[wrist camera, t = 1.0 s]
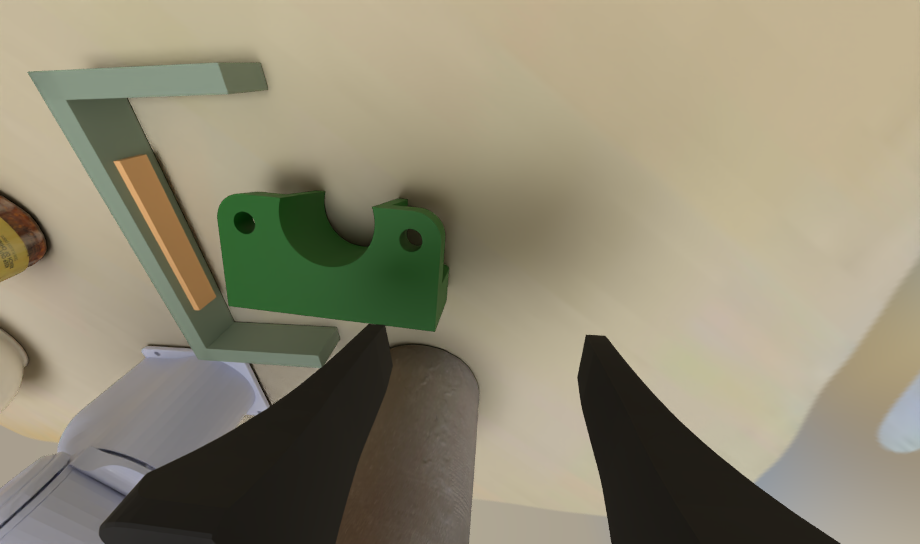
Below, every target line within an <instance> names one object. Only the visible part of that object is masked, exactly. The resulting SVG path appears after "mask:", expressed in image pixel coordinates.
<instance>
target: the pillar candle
mask: <svg viewBox="0 0 920 544" xmlns="http://www.w3.org/2000/svg"><path fill="white" fill-rule="evenodd" d="M390 353H391V358H392V363H393V367H392V371H391V375H390V379H389V383H388V387H387V390H386V393H385V396H384V398H383V401H382V403H381V406H380V409H379V411H378V414H377V416H376V418H375V421H374V423H373V426H372V428H371V431H370V433H369V436H368V438H367V441H366V443H365V446H364V448H363V451H362V453H361V456H360V459H359V462H358V465H357V468H356V471H355V475H354V478H353V482H352V485H351V488H350V492H349V495H348V499H347V502H346V506H345V510H344V513H343V517H342V520H341V524H340V528H339V532H338V536H337V540H336V544H469V535H470V521H471V507H472V506H471V505H472V494H473V480H474V464H475V453H476V437H477V421H478V404H479V389H478V384H477V381H476V379H475V377H474V375H473V373H472V372H471V370H470V369H469V367H468V366H467V365H466V364H465V363H464V362H462V361H461V360H460V359H459V358H457V357H456V356H454V355H452V354H450V353H448V352H446V351H444V350H441V349H438V348H434V347H430V346H425V345H404V346H403V345H402V346H397V347H394V348H390Z"/></svg>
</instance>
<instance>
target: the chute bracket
mask: <svg viewBox="0 0 920 544" xmlns="http://www.w3.org/2000/svg"><path fill="white" fill-rule="evenodd" d="M28 74H29V76H30V77H31V79H32V81H33V82H34V84H35V86H36V87H37V89H38V91H39V92H40V94H41V96H42V97H43V99H44V101H45V103H46V104H47V106H48V108H49V109H50V111H51V113H52V114H53V116H54V118H55V119H56V121H57V123H58V124H59V126H60V128H61V129H62V131H63V133H64V135H65V136H66V138H67V140H68V141H69V143H70V145H71V146H72V148H73V150H74V151H75V153H76V155H77V156H78V158H79V160H80V161H81V163H82V165H83V167H84V168H85V170H86V172H87V173H88V175H89V177H90V178H91V180H92V182H93V183H94V185H95V187H96V188H97V190H98V192H99V193H100V195H101V197H102V199H103V200H104V202H105V204H106V205H107V207H108V209H109V210H110V212H111V214H112V215H113V217H114V219H115V220H116V222H117V224H118V225H119V227H120V229H121V231H122V232H123V234H124V236H125V237H126V239H127V241H128V242H129V244H130V246H131V247H132V249H133V251H134V252H135V254H136V256H137V257H138V259H139V261H140V262H141V264H142V266H143V268H144V269H145V271H146V273H147V274H148V276H149V278H150V279H151V281H152V283H153V284H154V286H155V288H156V289H157V291H158V293H159V294H160V296H161V298H162V300H163V301H164V303H165V305H166V306H167V308H168V310H169V311H170V313H171V315H172V316H173V318H174V320H175V321H176V323H177V325H178V326H179V328H180V330H181V332H182V333H183V335H184V337H185V338H186V340H187V342H188V343H189V345H190V347H191V348H192V350H193V352H194V353H195V355H196V357H197V358H198V360H208V361H223V362H238V363H253V364H268V365H283V366H297V367H312V368H321V367H323V366H324V364H325V363H326V361H327V360H328V358H329V356H330V355H331V353H332V351H333V350H334V348H335V346H336V345H337V343H338V341H339V340H340V338H339V334H338V331H337V327H322V326H303V325H284V324H264V323H245V322H234V320H233V318H232V316H231V314H230V312H229V310H228V307H227V305H226V303H225V301H224V299H223V297H222V295H221V293H220V291H219V289H218V287H217V285H216V283H215V280H214V278H213V276H212V274H211V272H210V270H209V268H208V266H207V264H206V262H205V260H204V258H203V255H202V253H201V251H200V249H199V247H198V245H197V243H196V241H195V239H194V237H193V235H192V233H191V231H190V228H189V226H188V224H187V222H186V220H185V218H184V216H183V214H182V212H181V210H180V208H179V206H178V204H177V201H176V199H175V197H174V195H173V193H172V191H171V189H170V187H169V185H168V183H167V181H166V179H165V176H164V174H163V172H162V170H161V168H160V166H159V164H158V162H157V160H156V158H155V156H154V154H153V152H152V149H151V147H150V145H149V143H148V141H147V139H146V137H145V135H144V133H143V131H142V129H141V127H140V124H139V122H138V120H137V118H136V116H135V114H134V112H133V110H132V108H131V106H130V104H129V102H128V100H127V98H133V97H161V96H189V95H217V94H234V93H243V92H252V91H261V90H268V87H267V84H266V80H265V77H264V73H263V70H262V67H261V63H200V64H179V65H158V66H137V67H116V68H95V69H75V70H54V71H33V72H28Z"/></svg>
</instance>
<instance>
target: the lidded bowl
mask: <svg viewBox="0 0 920 544" xmlns="http://www.w3.org/2000/svg"><path fill="white" fill-rule="evenodd" d="M27 364H28V356H27V354H26V352H25V350H24V349H23V347H22V346H21V345H20V344H19V343H18V342H17V341H16V340H15V339H14V338H13V337H12V336H10V335H9V334H8V333H7V332H5V331H4V330H2V329H1V328H0V413H1V412H2V411H3V410H4V409H5V408H6V407H7V406H8V405H9V404H10V402H11V401H12V400H13V399H14V397H15V396H16V394H17V392H18V390H19V388H20V385H21V382H22V378H23V368H24V367H25V366H26V365H27Z"/></svg>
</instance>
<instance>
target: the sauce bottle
mask: <svg viewBox="0 0 920 544" xmlns="http://www.w3.org/2000/svg"><path fill="white" fill-rule="evenodd" d="M46 250H47V246H46V240H45V238H44V235H43V233H42V232H41V230H40V229H39V226H38V225H37V223H36V222H35V221H34V220H33V218H32V217H31V216H30V214H28V213H27V212H25V211H24V210H22V209H21V208H20V207H18V206H17V205H15V204H14V203H12V202H10V201H9V200H7V199H6V198H5V197H3V196H1V195H0V282H1V281H4V280H6V279H8V278H10V277H12V276H15V275H17V274H19V273H21V272H23V271H24V270H25V269H26V268H27V267H29V266H32V265H33V264H35V263H36V262H37V261H39V260H40V259H41V258H43V255H44V254H45V252H46Z"/></svg>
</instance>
